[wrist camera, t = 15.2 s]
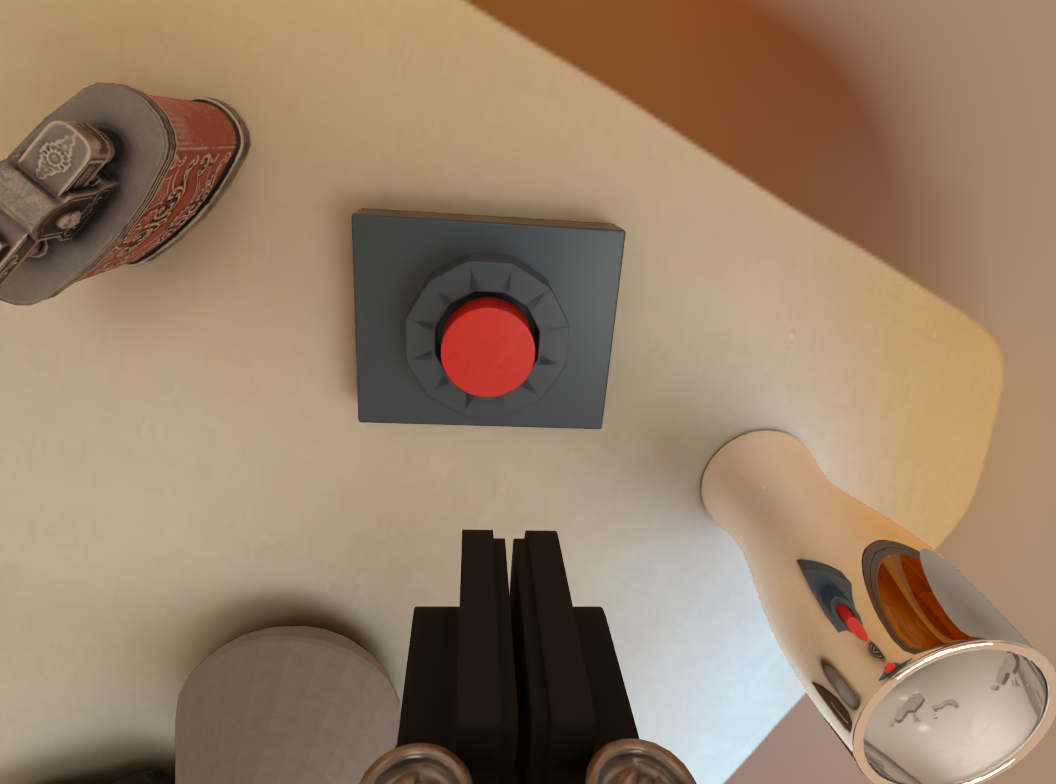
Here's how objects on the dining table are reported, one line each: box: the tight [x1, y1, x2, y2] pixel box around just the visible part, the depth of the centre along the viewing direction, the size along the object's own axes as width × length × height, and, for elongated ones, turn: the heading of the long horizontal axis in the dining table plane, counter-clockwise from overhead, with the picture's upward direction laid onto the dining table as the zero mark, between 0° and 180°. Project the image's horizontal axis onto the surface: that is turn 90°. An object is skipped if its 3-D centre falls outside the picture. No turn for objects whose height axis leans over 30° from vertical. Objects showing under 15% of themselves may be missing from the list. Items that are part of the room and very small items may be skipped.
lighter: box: [0, 83, 250, 305], centre depth 21 cm, size 8×3×10 cm, turn 132°
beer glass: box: [701, 430, 1056, 784], centre depth 26 cm, size 7×7×15 cm
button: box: [441, 297, 535, 397], centre depth 25 cm, size 4×4×2 cm
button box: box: [352, 208, 626, 429], centre depth 27 cm, size 11×9×4 cm
